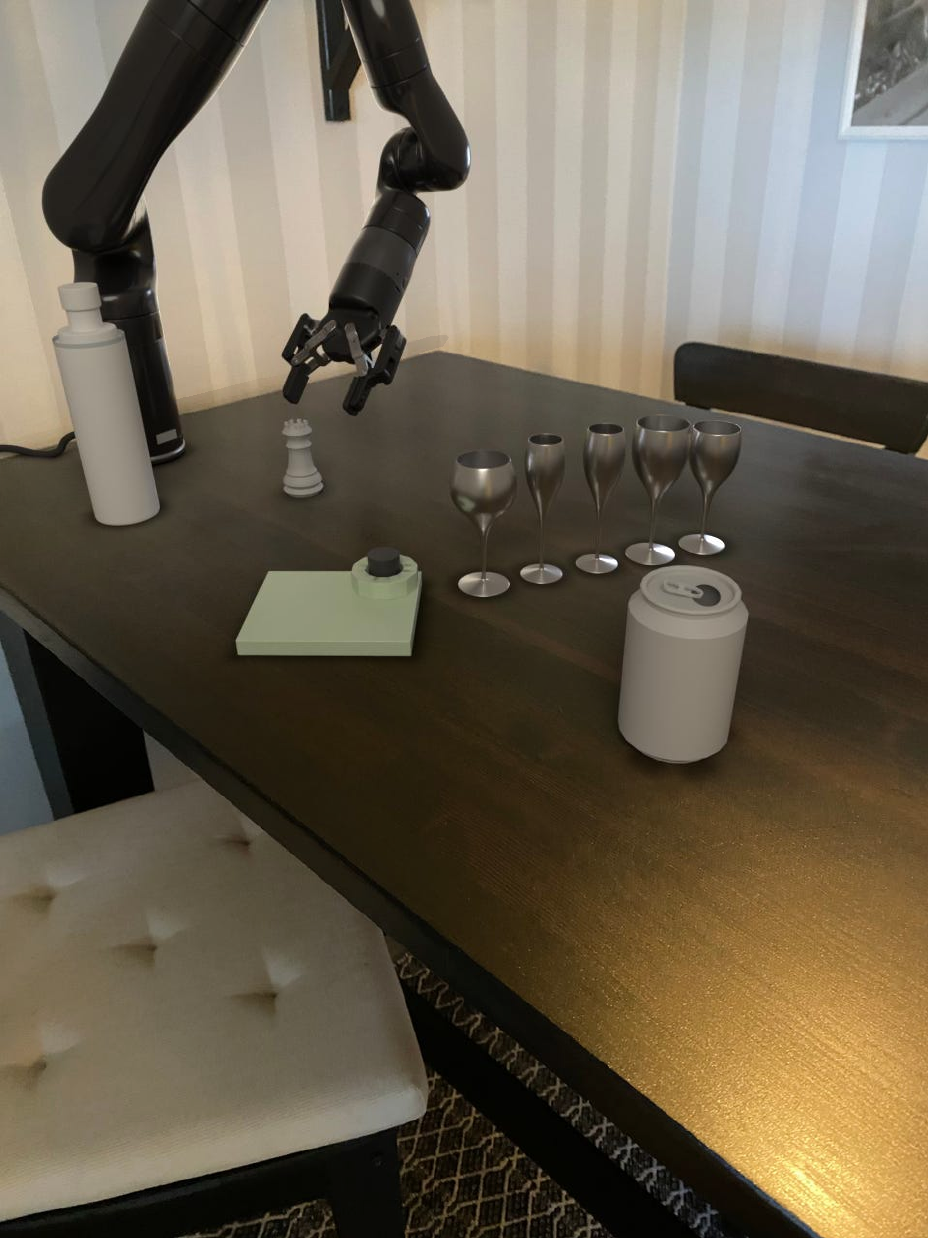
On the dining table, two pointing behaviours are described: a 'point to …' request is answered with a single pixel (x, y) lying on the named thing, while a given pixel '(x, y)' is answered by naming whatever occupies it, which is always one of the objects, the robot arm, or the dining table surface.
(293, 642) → the scale
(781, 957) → the dining table surface
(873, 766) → the dining table surface
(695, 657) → the can
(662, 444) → the goblet set
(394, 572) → the button
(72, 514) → the dining table surface
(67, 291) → the grey bottle
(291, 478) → the rook chess piece
